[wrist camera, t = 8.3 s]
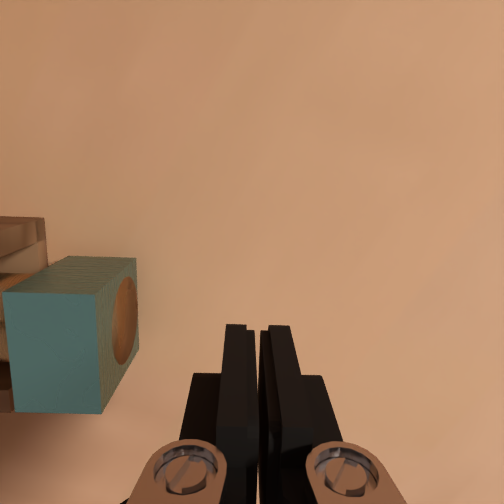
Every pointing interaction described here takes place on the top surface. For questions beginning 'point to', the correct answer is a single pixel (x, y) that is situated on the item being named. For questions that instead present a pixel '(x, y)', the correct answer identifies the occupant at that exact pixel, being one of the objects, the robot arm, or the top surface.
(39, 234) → the guide block
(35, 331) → the bronze piece
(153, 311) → the top surface
